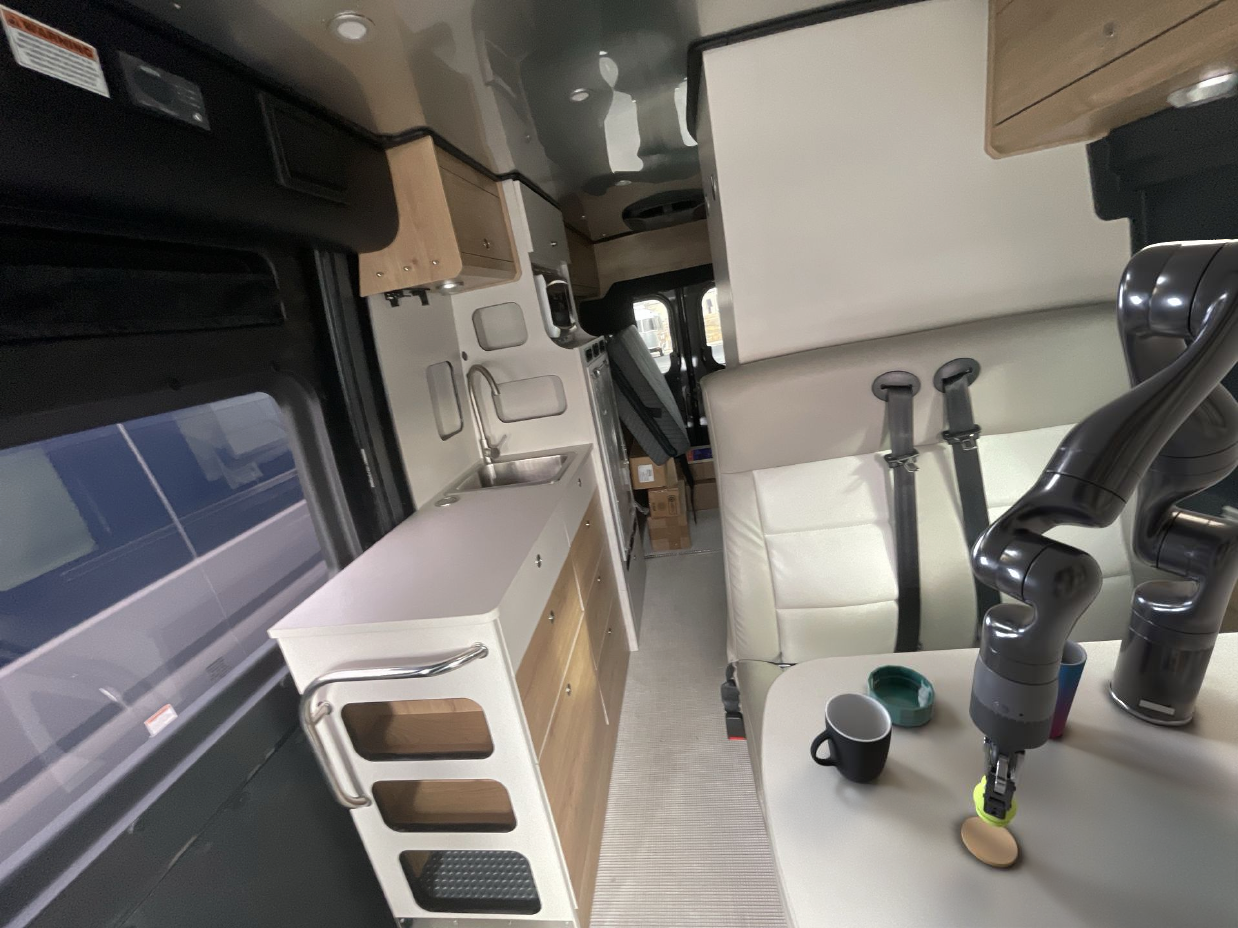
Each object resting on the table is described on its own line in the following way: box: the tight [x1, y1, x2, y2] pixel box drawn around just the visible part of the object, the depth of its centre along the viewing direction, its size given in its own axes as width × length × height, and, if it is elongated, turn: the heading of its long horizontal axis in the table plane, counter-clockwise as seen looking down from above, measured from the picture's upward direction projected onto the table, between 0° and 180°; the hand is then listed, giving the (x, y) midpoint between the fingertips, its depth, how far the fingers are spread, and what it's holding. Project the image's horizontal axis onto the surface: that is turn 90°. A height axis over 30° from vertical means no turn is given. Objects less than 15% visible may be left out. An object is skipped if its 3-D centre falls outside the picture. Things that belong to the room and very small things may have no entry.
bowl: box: [866, 664, 936, 728], centre depth 89 cm, size 10×10×4 cm
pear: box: [973, 774, 1018, 828], centre depth 65 cm, size 4×4×8 cm
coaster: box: [960, 816, 1019, 868], centre depth 69 cm, size 6×6×1 cm
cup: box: [1049, 637, 1088, 739], centre depth 80 cm, size 7×7×15 cm
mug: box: [809, 692, 893, 784], centre depth 79 cm, size 12×9×10 cm
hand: (995, 797), depth 66 cm, fingers closed on pear, 4 cm apart
